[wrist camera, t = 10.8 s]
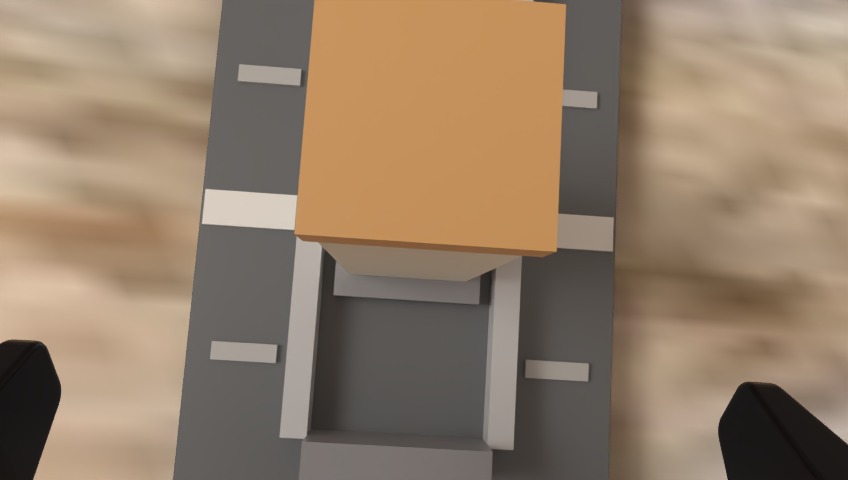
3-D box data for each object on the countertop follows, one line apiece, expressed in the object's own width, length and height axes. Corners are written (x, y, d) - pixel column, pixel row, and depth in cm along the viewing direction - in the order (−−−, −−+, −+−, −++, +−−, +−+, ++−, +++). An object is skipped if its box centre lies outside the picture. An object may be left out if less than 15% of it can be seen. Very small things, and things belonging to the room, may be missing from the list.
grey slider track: (592, 542, 19) (629, 583, 16) (181, 522, 19) (142, 560, 16) (615, -200, 22) (649, -280, 19) (257, -234, 22) (236, -323, 19)
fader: (475, 304, 19) (577, 291, 8) (335, 296, 19) (267, 271, 8) (483, 154, 19) (589, -29, 9) (347, 144, 19) (296, -54, 9)
